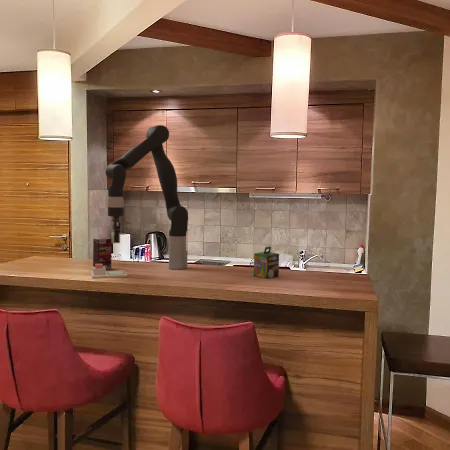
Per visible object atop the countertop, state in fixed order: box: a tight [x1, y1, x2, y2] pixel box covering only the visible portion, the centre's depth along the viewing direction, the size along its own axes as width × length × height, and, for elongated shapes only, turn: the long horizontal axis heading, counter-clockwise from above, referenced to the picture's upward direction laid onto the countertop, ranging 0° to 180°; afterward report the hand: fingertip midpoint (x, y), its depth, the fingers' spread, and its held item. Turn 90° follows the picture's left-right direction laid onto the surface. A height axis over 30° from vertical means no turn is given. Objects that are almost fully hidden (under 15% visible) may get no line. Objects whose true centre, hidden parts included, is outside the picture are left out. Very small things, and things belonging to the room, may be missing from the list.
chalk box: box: [253, 246, 280, 280], centre depth 237 cm, size 9×9×15 cm
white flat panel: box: [90, 269, 128, 279], centre depth 234 cm, size 16×12×1 cm
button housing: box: [92, 266, 107, 275], centre depth 232 cm, size 6×6×3 cm
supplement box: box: [92, 237, 112, 270], centre depth 251 cm, size 9×5×16 cm, turn 143°
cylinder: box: [111, 229, 121, 244], centre depth 234 cm, size 4×4×6 cm
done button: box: [95, 264, 103, 268], centre depth 232 cm, size 3×3×2 cm
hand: (115, 241), depth 234 cm, fingers closed on cylinder, 4 cm apart
